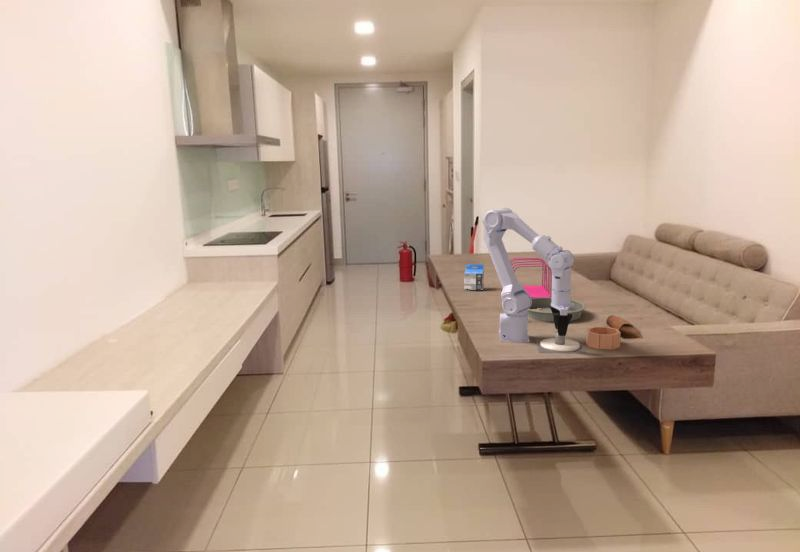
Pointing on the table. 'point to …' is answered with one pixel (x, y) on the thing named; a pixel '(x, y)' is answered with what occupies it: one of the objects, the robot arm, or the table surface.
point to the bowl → (603, 337)
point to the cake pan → (546, 312)
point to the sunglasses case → (623, 327)
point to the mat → (542, 350)
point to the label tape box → (474, 277)
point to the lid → (559, 344)
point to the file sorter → (542, 290)
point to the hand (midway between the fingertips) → (560, 332)
